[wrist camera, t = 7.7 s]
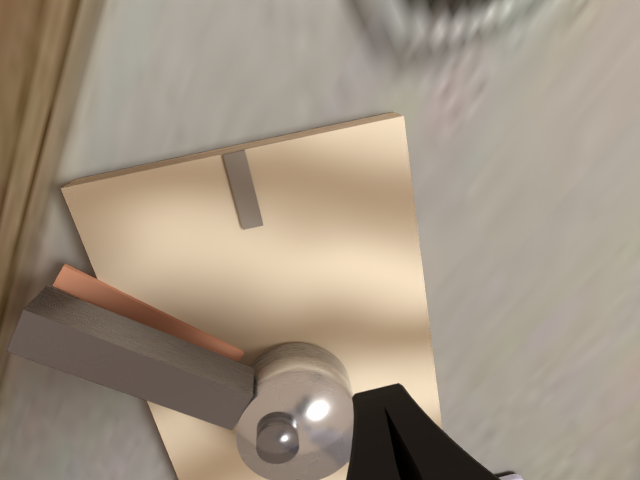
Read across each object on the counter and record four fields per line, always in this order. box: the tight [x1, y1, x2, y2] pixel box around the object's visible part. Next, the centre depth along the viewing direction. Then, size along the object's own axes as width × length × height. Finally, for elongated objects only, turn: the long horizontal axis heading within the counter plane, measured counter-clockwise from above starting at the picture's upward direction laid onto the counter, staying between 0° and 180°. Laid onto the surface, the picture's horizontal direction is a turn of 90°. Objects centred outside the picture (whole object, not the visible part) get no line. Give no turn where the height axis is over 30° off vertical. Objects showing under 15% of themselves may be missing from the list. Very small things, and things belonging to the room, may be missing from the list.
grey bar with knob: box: [7, 286, 354, 480], centre depth 19 cm, size 14×5×4 cm, turn 61°
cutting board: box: [53, 112, 442, 480], centre depth 21 cm, size 18×15×2 cm
